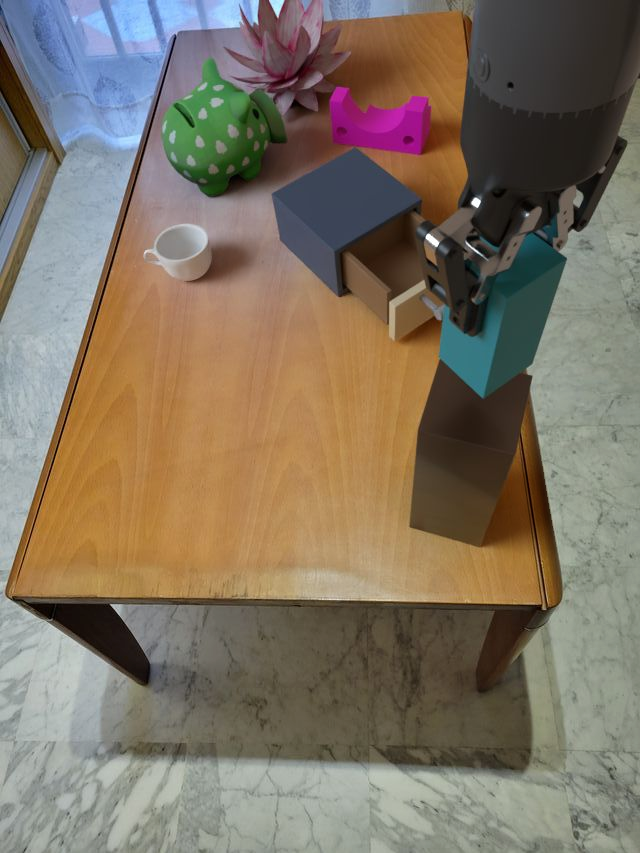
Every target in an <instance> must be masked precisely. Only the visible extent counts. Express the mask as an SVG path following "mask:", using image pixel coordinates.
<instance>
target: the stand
mask: <svg viewBox="0 0 640 853" xmlns="http://www.w3.org/2000/svg"><path fill="white" fill-rule="evenodd" d="M532 380H533V375H531V374H527V373H523V372H521V373H519V374H518V375H516V376H515V377H514V378H512V379H511V380H509V381H508V382H506V383H505V384H504V385H502V386H501V387H499V388H498V389H497V390H495V391H494V392H492V393H491V394H490V395H488V396H487V397H485V398H484V399H483V398H482V397H481V396H480V395H479V394H477V393H476V392H475V391H474V390H473V389H472V388H471V387H470V386H469V385H468V384H467V383H466V382H465V381H464V380H462V379H461V378H460V377H459V376H458V375H457V374H456V373H455V372H454V371H453V370H452V369H451V368H450V367H449V366H447V365H446V364H445V363H444V362H443V361H442V360H441V359H440V358H439V359H438V363H437V366H436V369H435V372H434V376H433V379H432V382H431V385H430V389H429V391H428V395H427V399H426V401H425V405H424V408H423V412H422V414H421V418H420V421H419V425H418V428H417V431H416V433H417V434H416V443H415V445H416V446H415V456H414V467H413V478H412V479H413V480H412V490H411V500H410V502H411V503H410V513H409V523H408V524H409V525H408V526H409V528H411V529H415V530H418V531H421V532H426V533H428V534H432V535H436V536H439V537H442V538H445V539H450V540H452V541H456V542H461V543H464V544H467V545H471V546H474V547H477V548H481V546H482V543H483V541H484V538H485V535H486V533H487V530H488V528H489V525H490V522H491V520H492V517H493V515H494V512H495V509H496V507H497V505H498V502H499V499H500V496H501V494H502V491H503V489H504V486H505V483H506V480H507V478H508V475H509V473H510V470H511V467H512V464H513V462H514V459H515V456H516V455H517V454H516V453H517V449H518V444H519V440H520V436H521V431H522V427H523V423H524V417H525V414H526V408H527V404H528V401H529V400H528V399H529V395H530V391H531V387H532V386H531V385H532Z"/></svg>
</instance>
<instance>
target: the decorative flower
mask: <svg viewBox="0 0 640 853" xmlns="http://www.w3.org/2000/svg"><path fill="white" fill-rule="evenodd" d="M270 1H271V0H258V5H257V6H258V7H257V22H256V21H253V22H252V25H251V23H250V21H249V20H248V19H247V17H246V15H245V12H244V10H243V8H242V6H241V4H240V3H238V7H239V12H240V17H241V21H238V24H239V27H240V33H241V36H242V40H243V42H244V44H245V45H246V47H247V49H248V50H249V52H250V53H251V55H252V56H253V57H254V58H255V59H254V58H252V57H248V56H246V55H243V54H241V53H238V52H236V51H233V50H232V49H230V48H227V47H226V46H223V49H224V51H226V52H227V53H228V55H229V56H230V58H232V59H233V60H235V61H237V62H238V63H239V64H240V65H242V66H244V67H246V68H247V69H249V70H252V71H254V72H256V73H259V74H263V75H259V76H249V77H236V76H233V75H229V74H228V77H230V78H232V79H233V80H235V81H238V82H242V83H246V84H244V87H247V88H252V89H258V88H261V87H266V86H267V87H266V88H265V89H264V90H263V91H264V92H265V93H266V94H267V95H268V96H269V97H270V98H271V99H272V98H273V99H272V101H273V102H274V103H275V105H276V106H277V108H278V110H279V112H280V114H281V116H282V117H283V116H284V115H285V114H286V113H287V112H288V111H289V110H290V108H291V106H292V103H293V102H294V100H296V102H298V104H300V105H301V106H303V107H304V108H306V109H309V110H311V111H314V112H318V111H319V103H318V98H317V94H316V93H322V94H323V93H324V94H327V93H328V94H329V93H334V91H335V89H336V87H337V86H335V85H334V84H332V82H329V80H327V79H325V78H324V77H326V76H328V75H329V74H331V73H333V72H334V71H335V70H336V69H337V68H338V67H339V66H340V65H341V64H343V63H344V62H345V61H346V60H347V59H348V58H349V56H350V55H351V54H352V50H348V51H340V52H333V50H334V49H335V47H336V45H337V43H338V41H339V37H340V34H341V31H342V29H343V25H342V23H341V24H339V25H337V26H334V27H333V28H331V29H329V30H327V31H326V32H324V33H323V29H324V25H325V22H324V20H325V18H324V17H325V16H324V5H323V0H311V1H310V3H309V4H308V6H307V7H306V9H305V7H304V3H303V1H302V0H283V3H282V6H281V8H280V10H279V13H278V15H277V14H276V11H275V10H274V7H273V5H272V3H271V2H270Z"/></svg>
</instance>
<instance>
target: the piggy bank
mask: <svg viewBox="0 0 640 853" xmlns="http://www.w3.org/2000/svg"><path fill="white" fill-rule="evenodd" d="M201 78H202V79H201V80H202V82H201V83H199V84H198V85H197V86H196V87H195V88H194V89H193V90H192V91H191V92H189V93H188V94H187V95H186V96H184V97H182V98H180V99H178V100H176V101H174V102H173V103H172V104H171V105H170V106H169V108H168V109H167V112H165V114H164V117H163V119H162V122H161V134H160V135H161V142H162V147H163V150H164V153H165V156H166V159H167V160H168V162H169V164H170V165H171V167H172V168H173V170H175V172H176V173H177V174H179V175H180V176H181V177H183V178H184V179H185V180H187V181H189V182H190V183H193V184H196V185H197V187H198V189H199V191H200V192H201V193H203V195H205V196H207V197H209V198H211V197H215V196H218V195H220V194H223V193H224V192H225V191H226V190H227V188H228V186H229V181H230V179H231V178H232V177H234V176H236V175H237V174H238V175H239V176H240V177H241V178H242V179H243V180H245V181H246V182H250V181H252V180H254V179H256V178H257V177H258V176H259V174H260V171H261V168H262V158H263V155H264V154H265V153H266V151H267V149H268V148H269V146H270V145H271V144H272V145H273V144H274V145H281V144H282V145H283V144H286V143H287V141H288V135H287V130H286V127H285V126H286V125H285V122H284V120H283V116H281V114H280V112H279V110H278V108H277V106H276V102H273V99H272V97H271V98H270V97H269V96H268V95H267V94H266V93H265V92H264V91H265V90H262V89H261V88H260V89H259V88H256V89H255V90H254V91H253V92H250V93H249V94H248V93H247V92H246V91H245V90H244V89H243V88H242V87H240V86H238V85H237V84H234V82H230V81H229V80H226V79H224V78H222V77H221V75H220V71H219V69H218V65H217V63H216V60H215V59H214V58H213V57H209V58H207V59H205V60H204V62H203V64H202V68H201Z"/></svg>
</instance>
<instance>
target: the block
mask: <svg viewBox="0 0 640 853" xmlns="http://www.w3.org/2000/svg"><path fill="white" fill-rule="evenodd" d="M480 238H481V240H482V241H483V242H485V243H486V244H487V245H489V246H490V247H491V248H492V249H494V250H495V251H496V252H498V249H499V248H498V247H495V246H492V245H491V244H490V243H489V242H487V241H486V240H485V239H483V238H482V237H481V236H480ZM567 261H568V257H567V256H565V255H564V254H562V253H561V252H560V251H559V252H558V251H557V250H555V249H554V248H553V247H551V246H550V245H548V244H547V243H546V242H544V241H543V240H542V239H540V238H539V237H537V236H536V235H535V234H533V233H531V234H529V235H527V236H526V237H525V238H524V240H523V242H522V244H521V246H520V248H519V250H518V252H517V254H516V256H515V258H514V261H513V263H512V265H511V267H510V268H509V270H508V271H505V272H502V273H499V274H498V276H497V278H496V280H495V282H494V284H493V286H492V288H491V291H490V293H489V295H488V297H489V298H488V303H487V308H486V313H485V318H484V323H483V328H482V332H480V333H479V334H477V335H476V336H474V337H470V336H469V335H468V334H467V333H466V334H464V333H463V332H462V331H460V330H459V329H458V328H457V327H456V326H455V325H454V324H453V323H451V322H450V320H449V313H450V308H449V307H447V306H446V305H445V304H444V313H443V320H442V322H441V323H442V324H441V331H440V341H439V349H438V350H439V351H438V358H439V359H441V360H442V361H443V362H444V363H445V364H446V365H447V366H449V367H450V368H451V369H452V370H453V371H454V372H455V373H456V374H457V375H458V376H459V377H460V378H461V379H462V380H464V381H465V382H466V383H467V384H468V385H469V386H470V387H471V388H472V389H473V390H474V391H475V392H476V393H477V394H479V395H480V396H481V397H482V398H483V399H484V398H485V397H487V396H488V395H490V394H491V393H492V392H494V391H495V390H497V389H498V388H499V387H501V386H502V385H504V384H505V383H506V382H508V381H509V380H511V379H512V378H514V377H515V376H516V375H518V374H519V373H523V371H525V370H526V369H528V368H529V367H530V366H532V365H533V363H534V360H535V357H536V355H537V352H538V348H539V346H540V342H541V339H542V336H543V334H544V330H545V328H546V324H547V322H548V318H549V315H550V312H551V310H552V307H553V303H554V300H555V297H556V294H557V291H558V288H559V285H560V282H561V278H562V276H563V273H564V270H565V267H566V264H567ZM469 272H470V273H471V274H472V275H473V276H475V277H476V278H477V279H478V276H479V274H480V268H479V266H477V265H476V264H475V263H474V262H473V263H472V265H471V267H470V269H469Z"/></svg>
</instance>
